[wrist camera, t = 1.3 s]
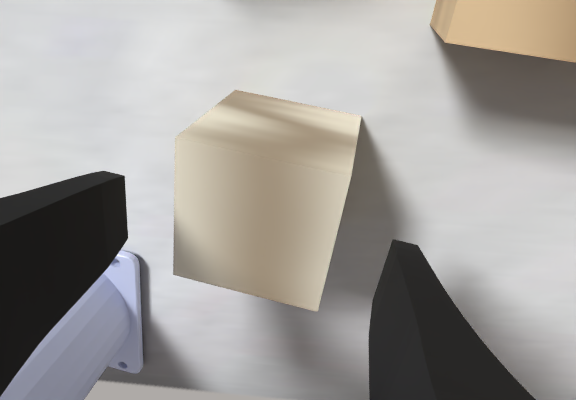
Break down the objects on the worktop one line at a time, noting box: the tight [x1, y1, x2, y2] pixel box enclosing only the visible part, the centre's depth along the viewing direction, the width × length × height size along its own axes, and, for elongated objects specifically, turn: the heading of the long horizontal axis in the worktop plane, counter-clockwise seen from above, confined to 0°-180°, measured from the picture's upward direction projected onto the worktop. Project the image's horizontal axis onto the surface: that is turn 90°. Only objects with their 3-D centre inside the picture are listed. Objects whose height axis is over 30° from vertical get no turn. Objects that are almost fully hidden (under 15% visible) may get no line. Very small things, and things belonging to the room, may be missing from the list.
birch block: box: [173, 90, 361, 312], centre depth 14 cm, size 4×4×5 cm
